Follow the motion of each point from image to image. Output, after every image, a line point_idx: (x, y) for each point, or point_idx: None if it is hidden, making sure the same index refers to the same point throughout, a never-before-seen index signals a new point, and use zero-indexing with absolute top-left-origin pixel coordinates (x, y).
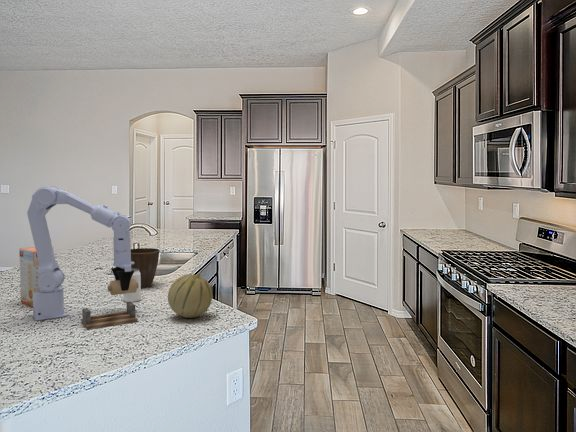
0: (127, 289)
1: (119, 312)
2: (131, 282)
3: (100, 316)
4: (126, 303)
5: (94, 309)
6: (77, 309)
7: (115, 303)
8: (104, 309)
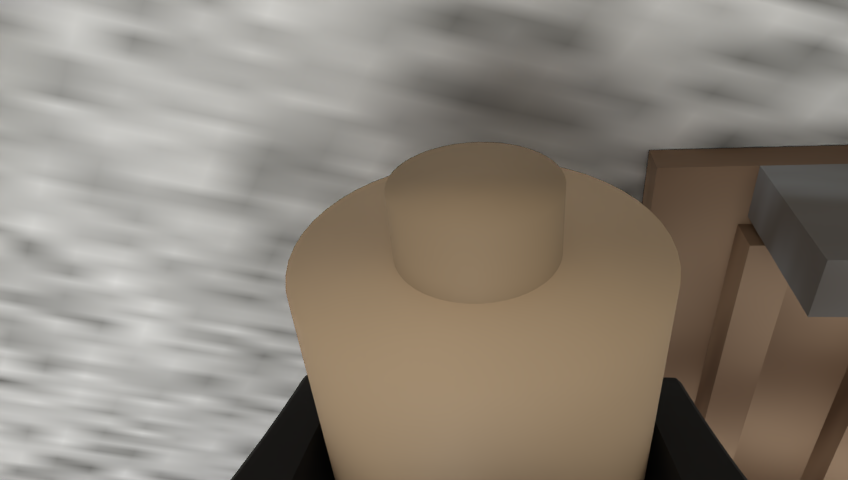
0: (686, 403)
1: (746, 309)
2: (640, 432)
3: (732, 451)
4: (805, 308)
5: (225, 364)
6: (180, 450)
7: (3, 160)
8: (258, 302)
